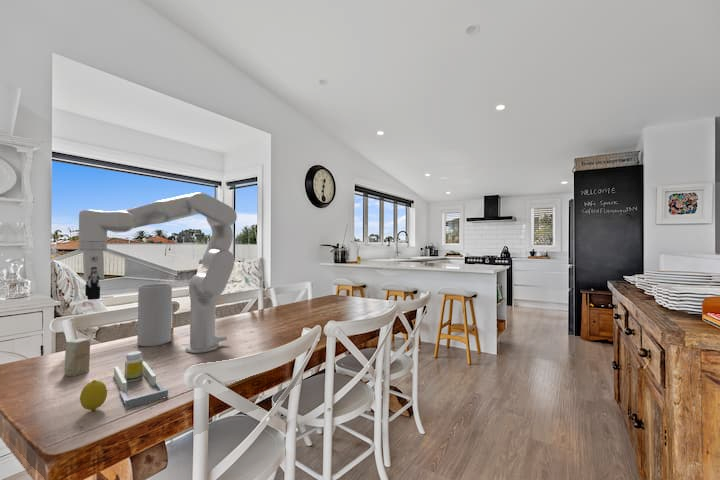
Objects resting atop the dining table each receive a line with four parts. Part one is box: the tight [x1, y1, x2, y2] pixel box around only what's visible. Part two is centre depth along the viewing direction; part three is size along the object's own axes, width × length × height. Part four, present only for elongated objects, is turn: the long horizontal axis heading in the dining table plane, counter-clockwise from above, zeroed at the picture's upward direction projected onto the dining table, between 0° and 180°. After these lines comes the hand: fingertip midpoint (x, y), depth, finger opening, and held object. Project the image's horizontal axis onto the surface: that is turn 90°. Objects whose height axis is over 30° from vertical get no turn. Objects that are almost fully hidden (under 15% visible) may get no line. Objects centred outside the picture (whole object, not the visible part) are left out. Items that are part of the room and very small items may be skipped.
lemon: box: [79, 379, 108, 412], centre depth 88 cm, size 6×6×8 cm
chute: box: [113, 360, 157, 394], centre depth 107 cm, size 8×17×3 cm, turn 43°
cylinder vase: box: [136, 283, 173, 347], centre depth 147 cm, size 12×12×25 cm
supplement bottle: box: [124, 350, 144, 383], centre depth 108 cm, size 5×5×8 cm
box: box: [63, 337, 91, 377], centre depth 112 cm, size 5×4×11 cm
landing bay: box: [119, 381, 169, 409], centre depth 96 cm, size 10×10×2 cm
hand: (92, 297), depth 113 cm, fingers open, 9 cm apart
